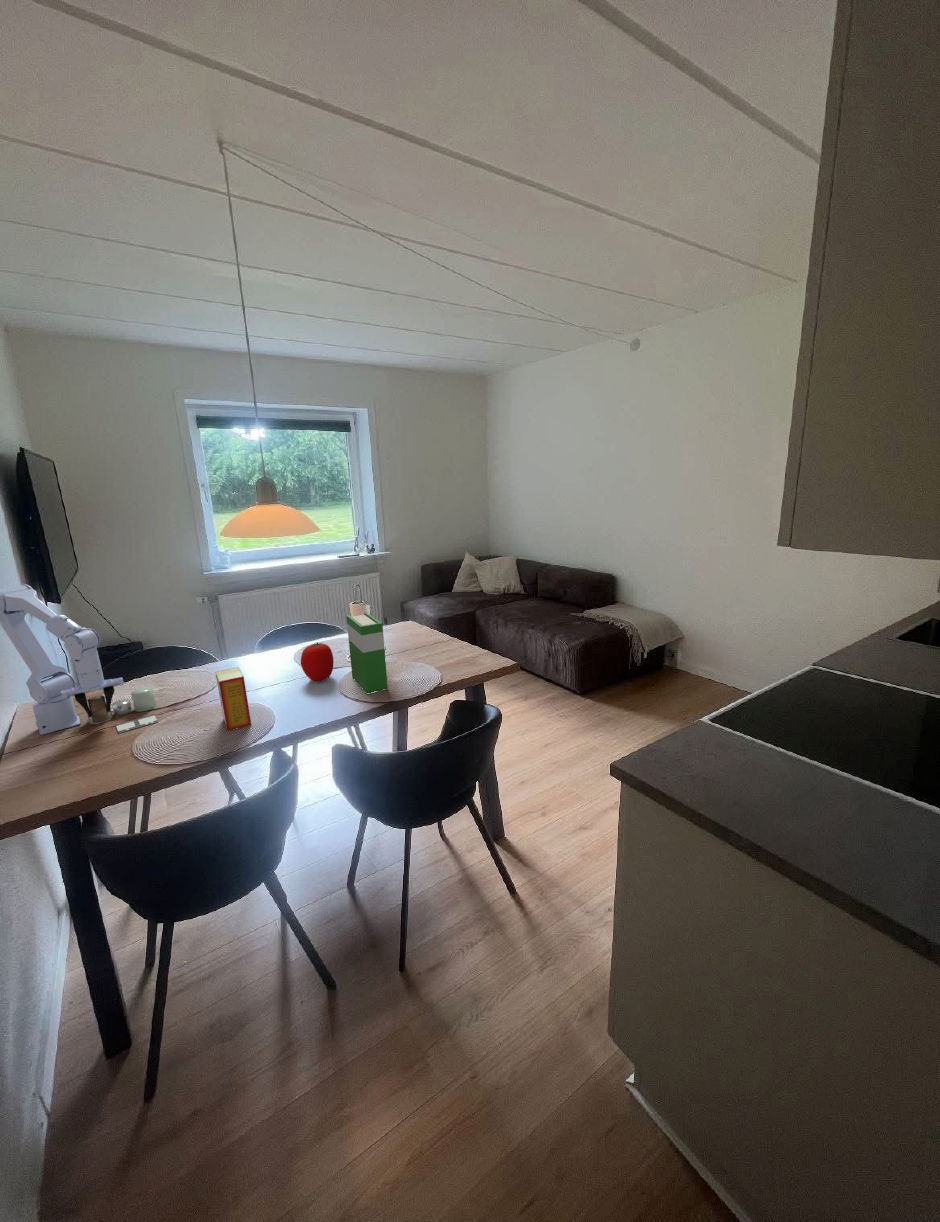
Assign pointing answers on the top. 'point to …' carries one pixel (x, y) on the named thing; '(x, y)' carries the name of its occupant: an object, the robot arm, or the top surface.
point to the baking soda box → (233, 698)
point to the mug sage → (143, 699)
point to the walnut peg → (98, 709)
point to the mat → (136, 723)
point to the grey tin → (122, 707)
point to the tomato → (317, 662)
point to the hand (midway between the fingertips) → (99, 713)
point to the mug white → (100, 722)
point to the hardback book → (367, 652)
